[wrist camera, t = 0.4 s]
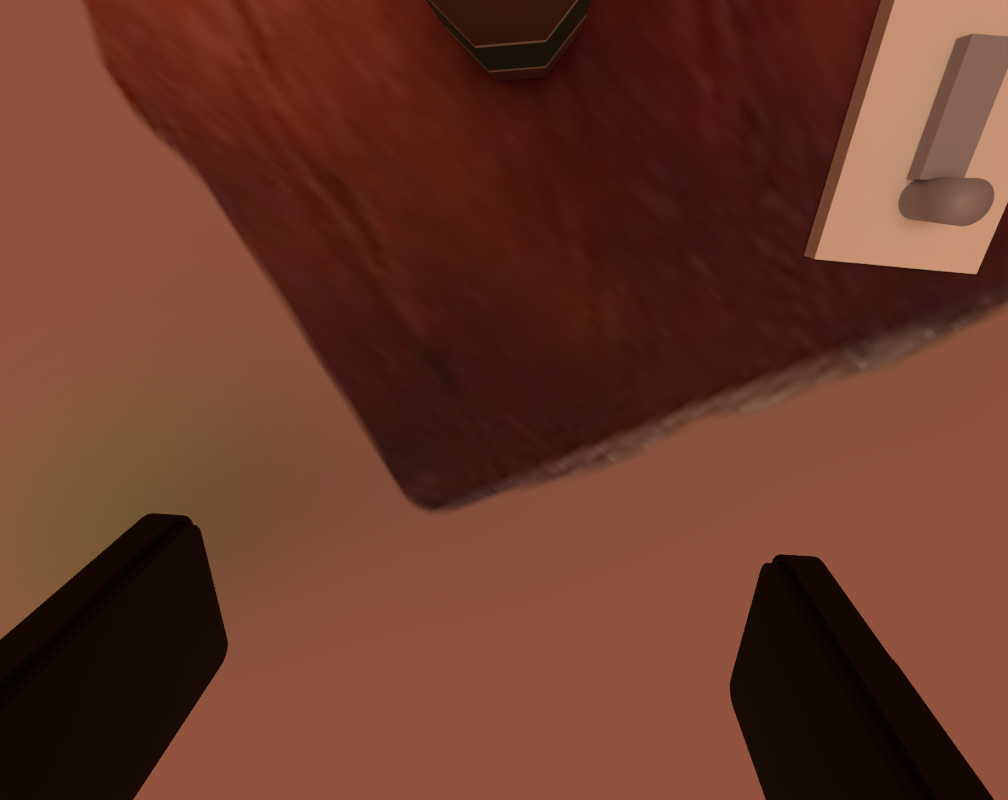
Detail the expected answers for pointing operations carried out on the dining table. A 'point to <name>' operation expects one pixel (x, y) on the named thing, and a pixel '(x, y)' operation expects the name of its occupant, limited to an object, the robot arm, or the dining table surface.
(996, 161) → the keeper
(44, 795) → the robot arm
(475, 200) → the dining table surface
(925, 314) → the dining table surface
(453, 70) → the dining table surface
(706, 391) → the dining table surface
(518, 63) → the beer bottle
